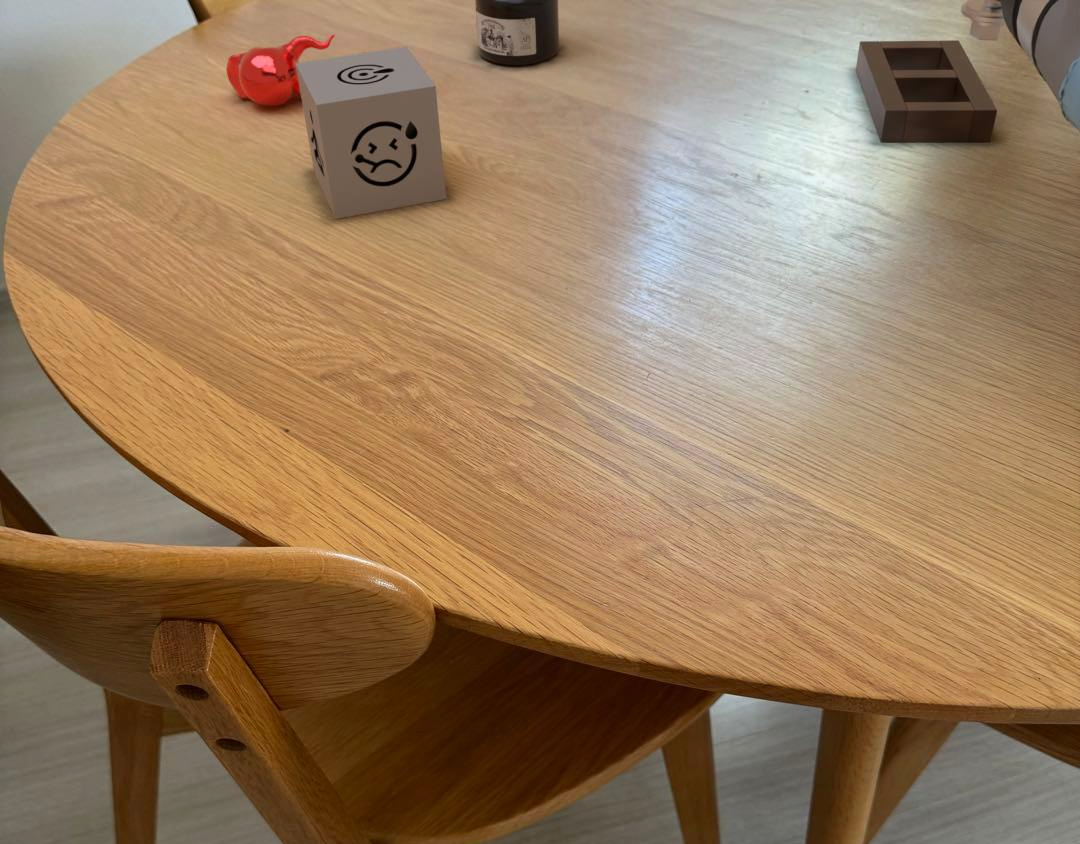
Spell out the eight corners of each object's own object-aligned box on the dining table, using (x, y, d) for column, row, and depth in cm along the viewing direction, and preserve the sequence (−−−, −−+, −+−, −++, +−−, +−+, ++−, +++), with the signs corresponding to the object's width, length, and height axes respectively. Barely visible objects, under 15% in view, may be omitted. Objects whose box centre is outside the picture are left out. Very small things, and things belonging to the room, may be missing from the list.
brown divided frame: (952, 69, 121) (959, 40, 119) (990, 142, 107) (997, 110, 105) (855, 70, 121) (859, 41, 119) (880, 142, 108) (885, 110, 106)
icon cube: (418, 154, 110) (406, 46, 103) (446, 199, 103) (435, 85, 96) (314, 172, 108) (295, 63, 101) (335, 219, 100) (316, 104, 94)
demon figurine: (217, 41, 119) (332, 19, 120) (235, 100, 123) (346, 79, 124) (215, 64, 113) (336, 41, 114) (234, 126, 117) (351, 103, 118)
